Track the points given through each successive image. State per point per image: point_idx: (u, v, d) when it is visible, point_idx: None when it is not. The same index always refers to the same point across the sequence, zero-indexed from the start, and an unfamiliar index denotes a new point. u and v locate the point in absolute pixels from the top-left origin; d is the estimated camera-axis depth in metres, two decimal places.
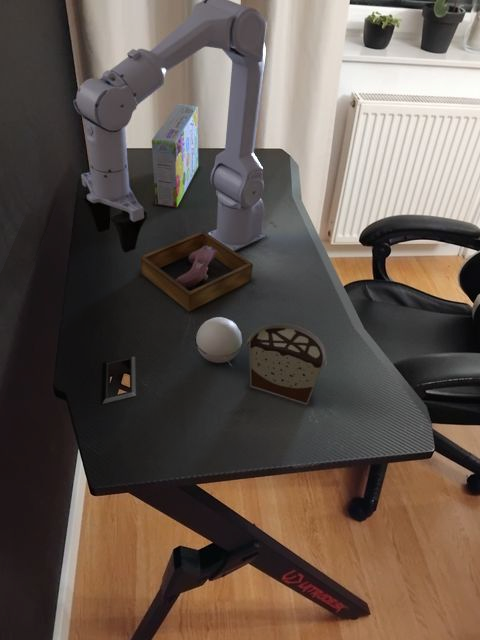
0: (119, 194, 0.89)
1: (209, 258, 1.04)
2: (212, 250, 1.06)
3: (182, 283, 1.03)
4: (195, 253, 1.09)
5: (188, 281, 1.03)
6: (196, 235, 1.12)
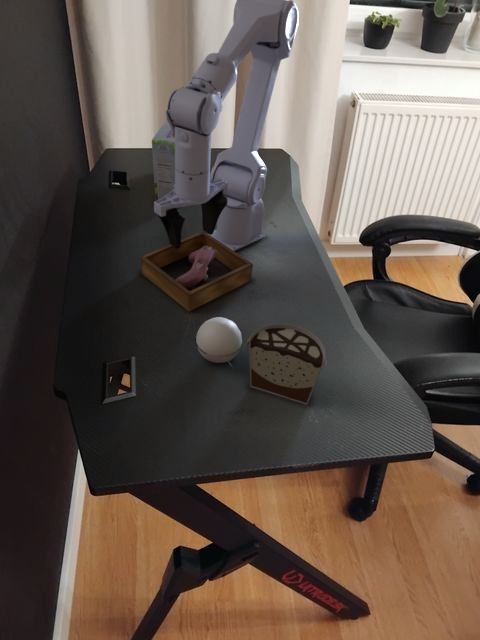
0: (177, 192, 0.94)
1: (209, 258, 1.04)
2: (212, 250, 1.06)
3: (182, 283, 1.03)
4: (195, 253, 1.09)
5: (188, 281, 1.03)
6: (196, 235, 1.12)
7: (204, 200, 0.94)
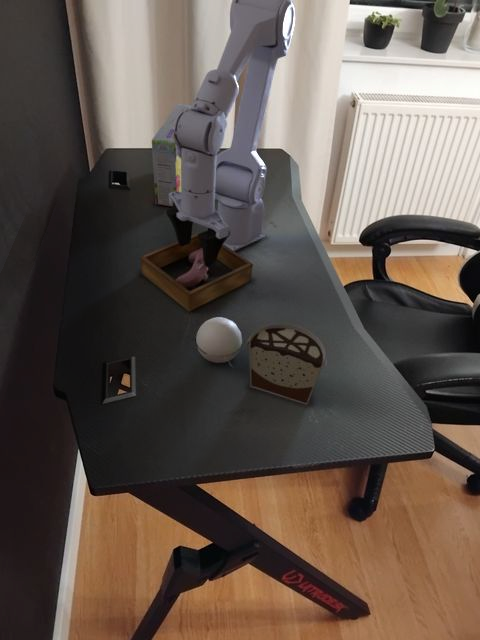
0: (206, 213, 0.96)
1: None
2: None
3: (182, 283, 1.03)
4: (195, 253, 1.09)
5: (188, 281, 1.03)
6: (196, 235, 1.12)
7: None
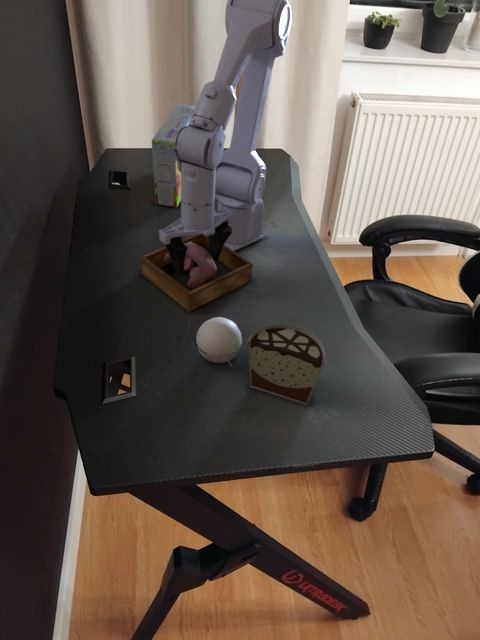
0: None
1: None
2: (198, 245, 1.08)
3: (198, 282, 1.03)
4: None
5: (204, 278, 1.04)
6: (196, 235, 1.12)
7: None
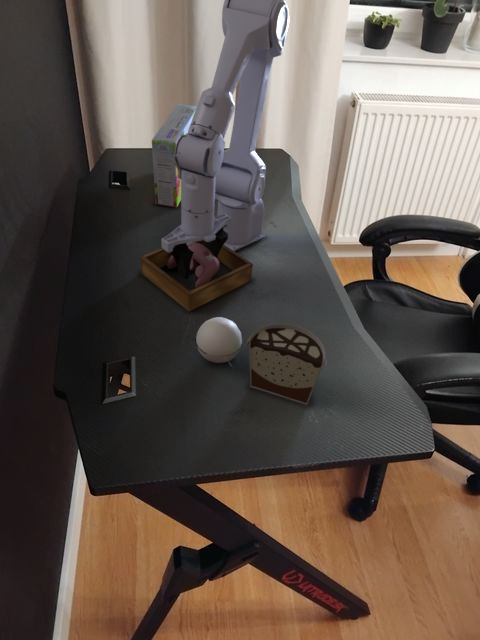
0: None
1: (207, 248, 1.06)
2: (195, 242, 1.07)
3: (205, 282, 1.04)
4: None
5: (210, 276, 1.04)
6: None
7: None
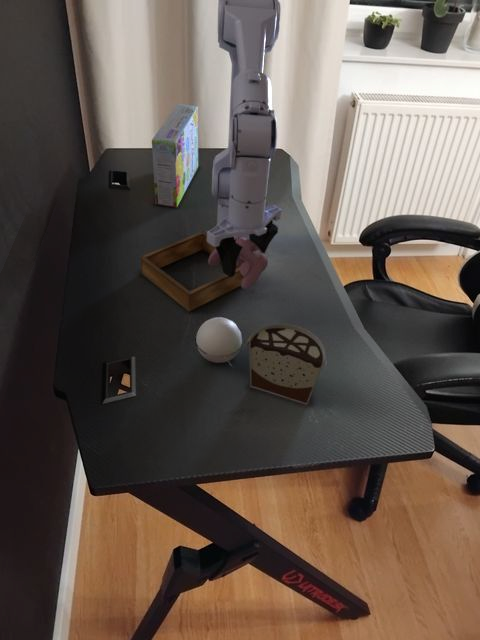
0: None
1: (253, 243, 0.95)
2: None
3: (252, 280, 0.94)
4: (217, 252, 0.97)
5: (257, 274, 0.94)
6: (196, 235, 1.12)
7: None
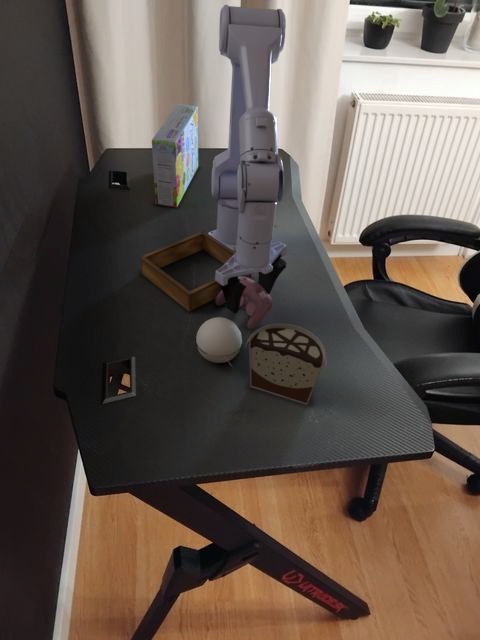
0: None
1: (259, 284, 0.99)
2: None
3: (257, 321, 0.98)
4: None
5: (263, 315, 0.98)
6: (196, 235, 1.12)
7: None
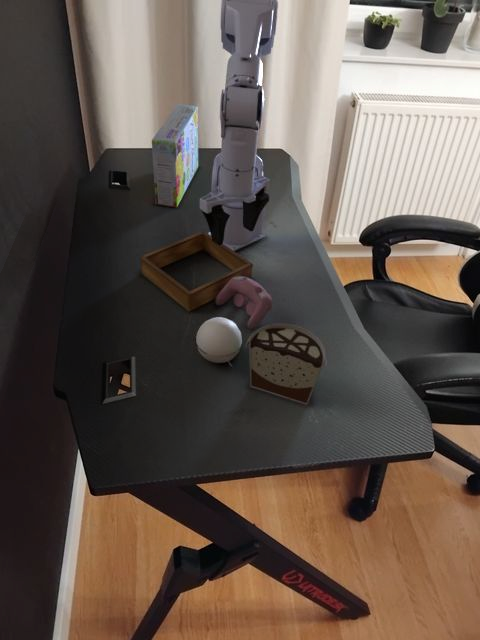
0: None
1: (259, 284, 0.99)
2: None
3: (257, 321, 0.98)
4: (224, 292, 1.01)
5: (263, 315, 0.98)
6: (196, 235, 1.12)
7: None
